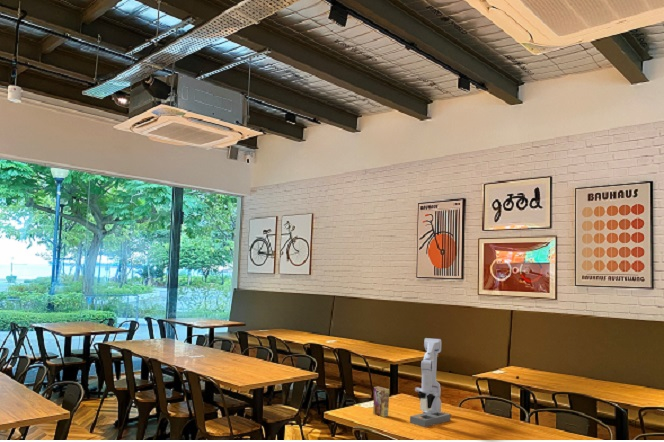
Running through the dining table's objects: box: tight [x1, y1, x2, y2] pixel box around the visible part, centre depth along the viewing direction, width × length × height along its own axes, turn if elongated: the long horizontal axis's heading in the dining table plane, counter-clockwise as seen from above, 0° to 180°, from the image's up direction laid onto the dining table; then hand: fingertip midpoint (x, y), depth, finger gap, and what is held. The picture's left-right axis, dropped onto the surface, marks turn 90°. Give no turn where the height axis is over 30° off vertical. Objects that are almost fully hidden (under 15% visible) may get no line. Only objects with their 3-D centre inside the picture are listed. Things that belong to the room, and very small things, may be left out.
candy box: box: [372, 386, 390, 418], centre depth 300 cm, size 9×4×15 cm, turn 39°
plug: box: [419, 397, 432, 411], centre depth 287 cm, size 5×4×7 cm
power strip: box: [409, 410, 452, 428], centre depth 290 cm, size 24×10×4 cm, turn 132°
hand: (426, 407), depth 287 cm, fingers closed on plug, 4 cm apart
